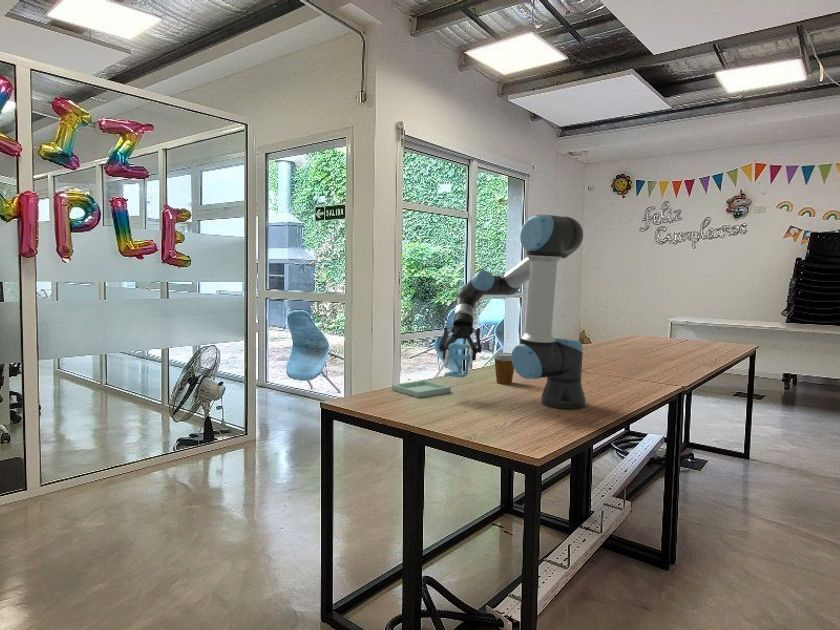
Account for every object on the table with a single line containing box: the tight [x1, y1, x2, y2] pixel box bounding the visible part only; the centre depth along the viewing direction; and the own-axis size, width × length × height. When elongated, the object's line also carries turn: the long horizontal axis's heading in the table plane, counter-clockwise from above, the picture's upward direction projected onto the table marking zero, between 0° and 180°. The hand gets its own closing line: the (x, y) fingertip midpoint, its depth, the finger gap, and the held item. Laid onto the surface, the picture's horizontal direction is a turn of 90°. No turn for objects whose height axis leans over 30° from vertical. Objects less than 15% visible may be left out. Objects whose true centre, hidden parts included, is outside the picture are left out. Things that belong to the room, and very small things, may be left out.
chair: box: [444, 342, 471, 379], centre depth 201 cm, size 8×8×12 cm
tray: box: [391, 379, 452, 399], centre depth 212 cm, size 16×16×2 cm
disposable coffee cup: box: [492, 352, 515, 385], centre depth 231 cm, size 10×10×12 cm
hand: (458, 366), depth 198 cm, fingers closed on chair, 8 cm apart
